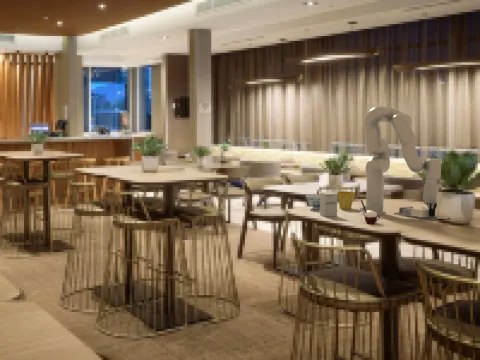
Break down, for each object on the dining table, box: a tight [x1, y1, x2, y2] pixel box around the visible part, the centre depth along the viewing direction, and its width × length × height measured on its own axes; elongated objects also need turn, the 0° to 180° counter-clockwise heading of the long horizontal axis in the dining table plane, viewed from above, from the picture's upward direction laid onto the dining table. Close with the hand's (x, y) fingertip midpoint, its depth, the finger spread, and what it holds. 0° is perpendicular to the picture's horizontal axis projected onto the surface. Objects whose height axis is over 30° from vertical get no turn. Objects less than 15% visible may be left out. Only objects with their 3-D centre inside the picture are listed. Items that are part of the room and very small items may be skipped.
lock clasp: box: [411, 206, 430, 217], centre depth 327 cm, size 10×8×4 cm
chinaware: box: [305, 193, 320, 211], centre depth 358 cm, size 15×15×8 cm
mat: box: [393, 212, 439, 222], centre depth 331 cm, size 14×27×1 cm, turn 32°
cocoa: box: [360, 199, 381, 225], centre depth 308 cm, size 10×6×12 cm
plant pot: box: [336, 190, 355, 210], centre depth 359 cm, size 10×10×10 cm
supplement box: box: [319, 191, 338, 218], centre depth 332 cm, size 7×7×13 cm
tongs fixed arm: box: [398, 205, 414, 215], centre depth 335 cm, size 9×15×3 cm, turn 32°
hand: (431, 215), depth 322 cm, fingers closed
